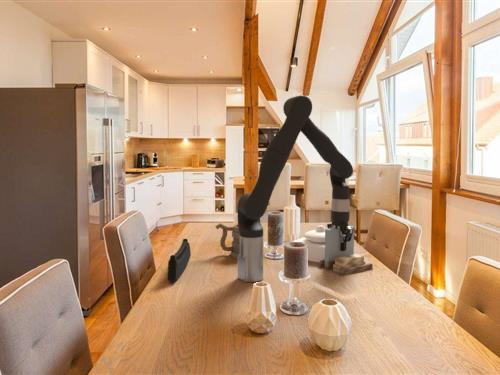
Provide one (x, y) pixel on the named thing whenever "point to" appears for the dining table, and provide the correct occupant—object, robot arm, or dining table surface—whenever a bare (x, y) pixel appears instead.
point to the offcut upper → (349, 260)
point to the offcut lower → (338, 268)
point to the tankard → (236, 239)
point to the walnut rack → (344, 271)
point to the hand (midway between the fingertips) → (339, 249)
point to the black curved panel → (179, 261)
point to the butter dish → (315, 243)
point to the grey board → (336, 245)
